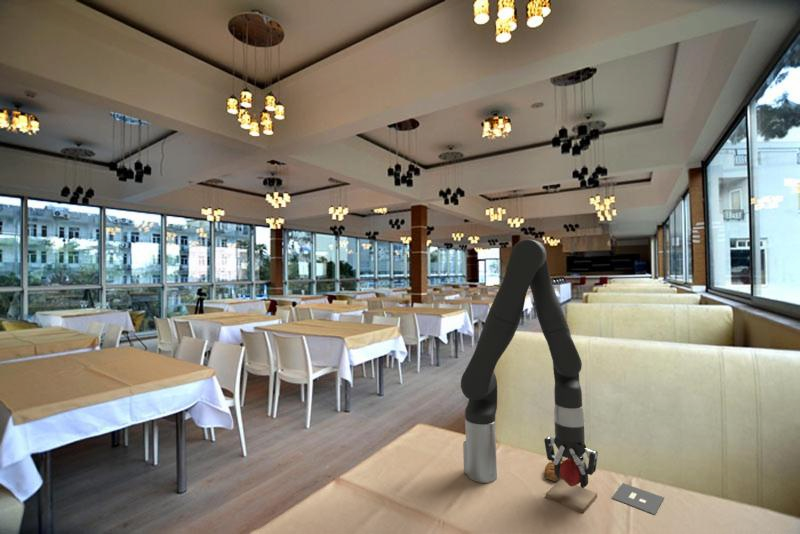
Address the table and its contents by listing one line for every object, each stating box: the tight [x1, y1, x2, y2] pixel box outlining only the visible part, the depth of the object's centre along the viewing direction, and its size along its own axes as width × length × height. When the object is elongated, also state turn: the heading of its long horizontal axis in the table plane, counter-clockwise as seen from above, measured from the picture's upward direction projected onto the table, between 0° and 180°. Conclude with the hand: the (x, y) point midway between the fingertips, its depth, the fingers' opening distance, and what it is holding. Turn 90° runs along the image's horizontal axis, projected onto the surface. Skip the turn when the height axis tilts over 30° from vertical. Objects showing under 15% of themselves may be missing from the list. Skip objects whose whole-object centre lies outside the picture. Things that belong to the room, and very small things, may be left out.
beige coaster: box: [545, 479, 598, 514], centre depth 101 cm, size 10×10×1 cm
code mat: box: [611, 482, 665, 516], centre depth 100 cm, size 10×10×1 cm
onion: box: [559, 458, 581, 486], centre depth 101 cm, size 6×6×8 cm
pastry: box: [544, 459, 566, 482], centre depth 112 cm, size 9×7×4 cm
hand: (571, 481), depth 101 cm, fingers closed on onion, 6 cm apart
